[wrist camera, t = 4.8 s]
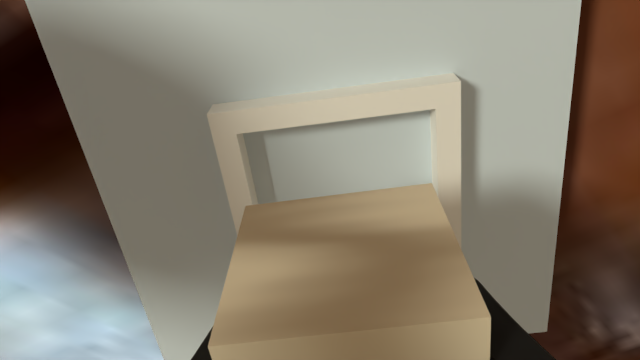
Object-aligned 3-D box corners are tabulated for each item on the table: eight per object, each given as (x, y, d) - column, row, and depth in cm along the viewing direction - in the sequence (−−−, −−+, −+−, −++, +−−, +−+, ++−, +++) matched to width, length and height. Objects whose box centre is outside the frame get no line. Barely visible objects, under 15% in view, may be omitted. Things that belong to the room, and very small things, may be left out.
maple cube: (278, 341, 14) (261, 508, 10) (245, 205, 12) (207, 346, 8) (437, 325, 14) (486, 489, 10) (431, 182, 12) (490, 316, 8)
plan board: (174, 349, 23) (161, 387, 21) (20, -69, 15) (-24, -69, 13) (536, 312, 22) (556, 349, 20) (577, -157, 14) (618, -170, 12)
